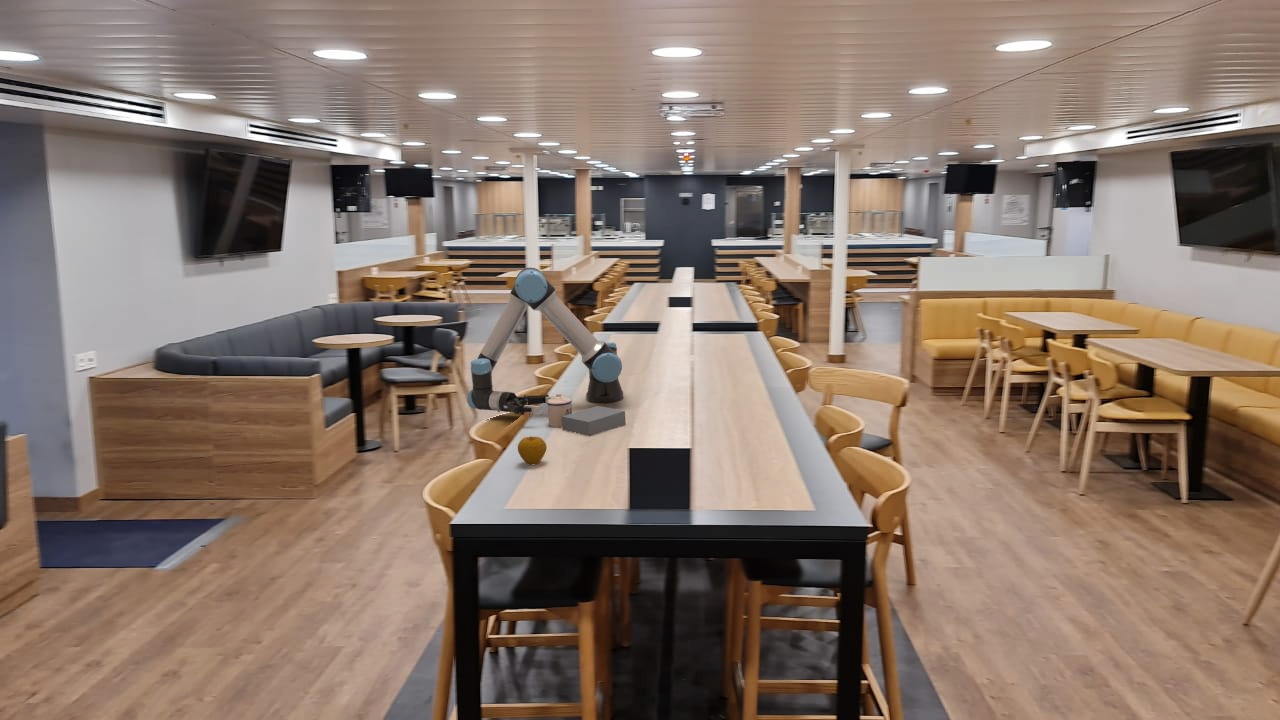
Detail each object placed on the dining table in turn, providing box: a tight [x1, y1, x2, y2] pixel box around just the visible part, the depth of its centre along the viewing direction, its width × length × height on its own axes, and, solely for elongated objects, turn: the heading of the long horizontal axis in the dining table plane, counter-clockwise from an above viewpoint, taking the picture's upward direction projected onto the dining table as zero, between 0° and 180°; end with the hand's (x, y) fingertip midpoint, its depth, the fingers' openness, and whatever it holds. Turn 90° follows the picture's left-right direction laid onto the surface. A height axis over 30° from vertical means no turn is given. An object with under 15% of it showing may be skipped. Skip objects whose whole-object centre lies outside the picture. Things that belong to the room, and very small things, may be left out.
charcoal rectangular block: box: [561, 405, 626, 437], centre depth 316 cm, size 18×14×5 cm
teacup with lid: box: [546, 392, 573, 428], centre depth 323 cm, size 12×9×12 cm
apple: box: [517, 435, 548, 466], centre depth 276 cm, size 9×9×9 cm
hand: (550, 405), depth 324 cm, fingers open, 13 cm apart
